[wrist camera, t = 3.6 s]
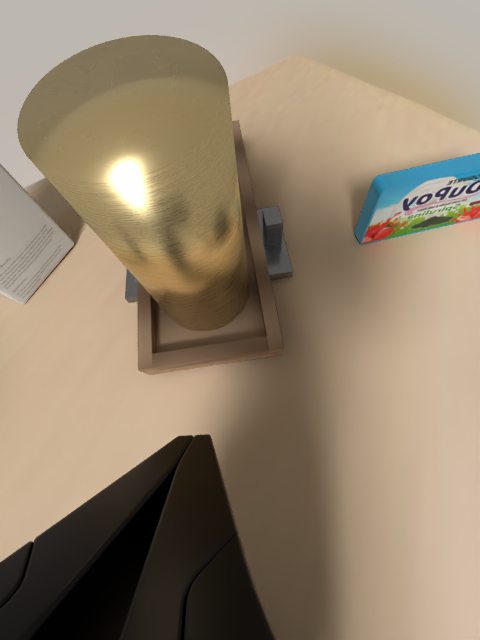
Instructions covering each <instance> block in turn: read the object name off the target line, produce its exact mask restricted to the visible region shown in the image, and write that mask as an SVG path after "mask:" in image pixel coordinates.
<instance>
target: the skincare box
mask: <svg viewBox="0 0 480 640" xmlns="http://www.w3.org/2000/svg"><path fill="white" fill-rule="evenodd" d="M74 244H75V243H74V242H73V240H72V239H71V238H70V237H69V236H68V235H67V234H66V233H65V232H64V231H63V230H62V229H61V228H60V227H59V226H58V224H57V223H56V222H55V221H54V220H53V219H52V218H51V217H50V216H49V215H48V214H47V213H46V212H45V211H44V210H43V209H42V208H41V207H40V206H39V204H38V203H37V202H36V201H35V200H34V199H33V198H32V197H31V196H30V195H29V194H28V193H27V192H26V191H25V189H24V188H23V187H21V185H20V184H19V183H18V182H17V181H16V180H15V179H14V178H13V177H12V176H11V175H10V174H9V172H8V171H7V170H6V169H5V168H4V167H3V166H2V165H1V164H0V294H2V295H4V296H6V297H8V298H10V299H12V300H15V301H17V302H19V303H21V304H25V303H26V302H27V301H28V299H29V298H30V297H31V296H32V295H33V293H34V292H35V291H36V290H37V289H38V287H39V286H40V285H41V284H42V283H43V281H44V280H45V279H46V278H47V277H48V275H49V274H50V273H51V272H52V271H53V269H54V268H55V267H56V266H57V265H58V264H59V262H60V261H61V260H62V259H63V258H64V256H65V255H66V254H67V253H68V252H69V250H70V249H71V248H72V247H73V246H74Z"/></svg>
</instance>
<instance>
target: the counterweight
mask: <svg viewBox="0 0 480 640" xmlns="http://www.w3.org/2000/svg"><path fill="white" fill-rule="evenodd" d="M17 131H18V139H19V142H20V144H21V147H22V149H23V151H24V152H25V154H26V155H27V157H28V158H29V159H30V160H31V161H32V162H33V163H34V164H35V166H36V167H37V168H38V169H39V170H40V171H41V172H42V173H43V174H44V176H45V177H46V178H47V179H48V180H49V181H50V183H51V184H52V185H53V186H54V187H55V188H56V189H57V190H58V192H59V193H60V194H61V195H62V196H63V197H64V198H65V199H66V200H67V202H68V203H69V204H70V205H71V206H72V207H73V208H74V209H75V211H76V212H77V213H78V214H79V215H80V216H81V217H82V218H83V220H84V221H85V222H86V223H87V224H88V225H89V226H90V227H91V229H92V230H93V231H94V232H95V233H96V234H97V235H98V236H99V238H100V239H101V240H102V241H103V242H104V243H105V244H106V245H107V247H108V248H109V249H110V250H111V251H112V252H113V253H114V254H115V256H116V257H117V258H118V259H119V260H120V261H121V262H122V263H123V265H124V266H125V267H126V268H127V269H128V270H129V271H130V272H131V274H132V275H133V276H134V277H135V278H136V279H137V280H138V281H139V283H140V284H141V285H142V286H143V287H144V288H145V289H146V290H147V292H148V293H149V294H150V295H151V296H152V297H153V298H154V299H155V300H156V302H157V303H158V304H159V305H160V306H161V307H162V308H163V309H164V311H165V312H166V313H167V314H168V315H169V316H170V317H171V318H172V319H173V321H175V322H176V323H177V324H179V325H180V326H182V327H184V328H186V329H189V330H193V331H212V330H216V329H219V328H221V327H224V326H225V325H227V324H229V323H230V322H232V321H233V320H234V319H235V318H236V317H238V315H239V314H240V313H241V312H242V310H243V309H244V307H245V305H246V303H247V300H248V296H249V279H248V269H247V260H246V250H245V240H244V231H243V221H242V212H241V202H240V193H239V183H238V174H237V164H236V155H235V145H234V136H233V126H232V117H231V107H230V98H229V88H228V81H227V76H226V73H225V71H224V69H223V67H222V65H221V64H220V62H219V61H218V60H217V59H216V58H215V56H213V55H212V54H211V53H210V52H209V51H207V50H206V49H204V48H203V47H201V46H199V45H197V44H195V43H192V42H190V41H187V40H183V39H180V38H175V37H169V36H159V35H144V36H132V37H126V38H120V39H116V40H112V41H108V42H105V43H102V44H98V45H95V46H93V47H91V48H88V49H86V50H83V51H81V52H79V53H77V54H75V55H73V56H72V57H70V58H69V59H67V60H65V61H63V62H62V63H60V64H59V65H58V66H56V67H55V68H53V69H52V70H51V71H50V72H49V73H47V74H46V75H45V76H44V77H43V78H42V79H41V80H40V81H39V82H38V83H37V84H36V85H35V87H34V88H33V89H32V91H31V92H30V93H29V95H28V97H27V98H26V100H25V102H24V104H23V106H22V108H21V111H20V115H19V118H18V128H17Z"/></svg>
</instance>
